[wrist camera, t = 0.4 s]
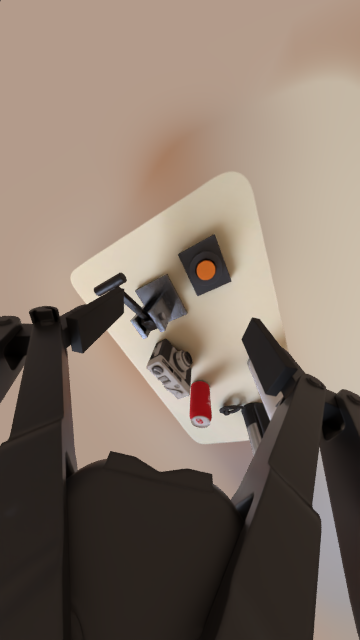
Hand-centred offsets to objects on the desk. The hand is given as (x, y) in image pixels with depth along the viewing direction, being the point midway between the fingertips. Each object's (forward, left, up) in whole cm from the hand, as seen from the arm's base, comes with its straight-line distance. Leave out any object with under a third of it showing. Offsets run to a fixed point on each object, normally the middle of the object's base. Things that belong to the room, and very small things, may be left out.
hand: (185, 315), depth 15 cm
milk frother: (+42, +30, -22) cm, 56 cm away
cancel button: (-2, +2, -19) cm, 19 cm away
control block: (-2, +2, -22) cm, 22 cm away
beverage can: (+36, +12, -22) cm, 44 cm away
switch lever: (+5, -9, -10) cm, 14 cm away
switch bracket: (+9, -6, -22) cm, 24 cm away
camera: (+25, +2, -22) cm, 33 cm away
